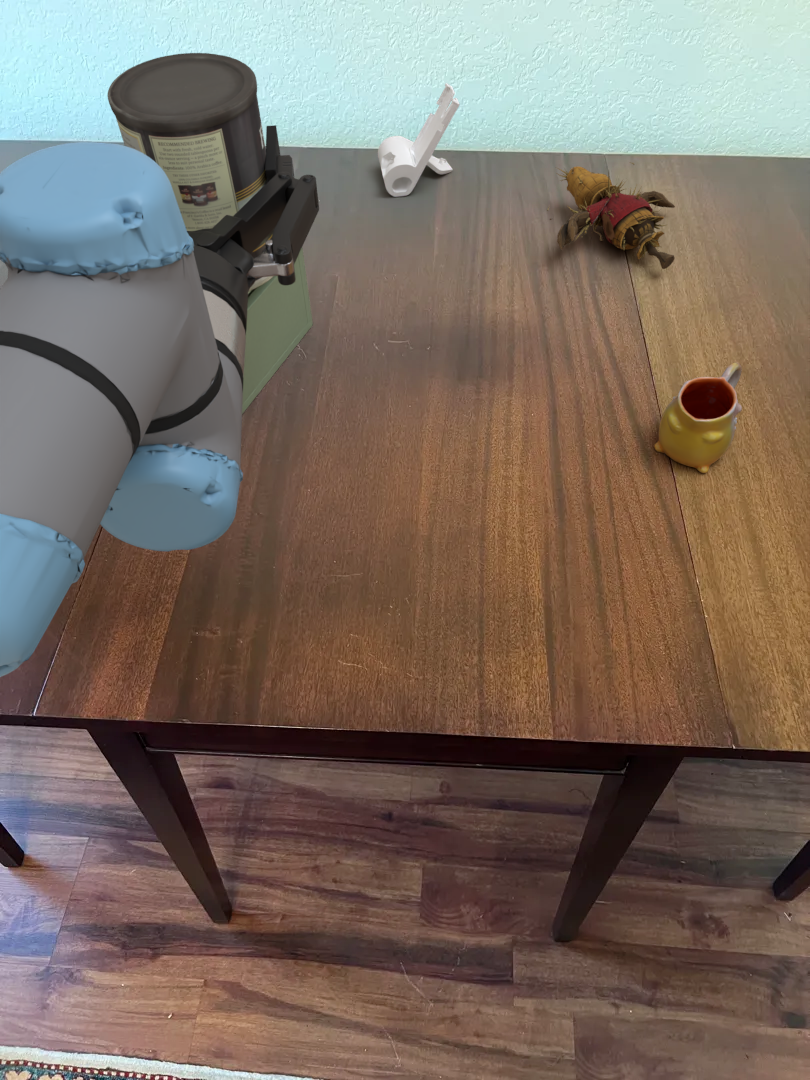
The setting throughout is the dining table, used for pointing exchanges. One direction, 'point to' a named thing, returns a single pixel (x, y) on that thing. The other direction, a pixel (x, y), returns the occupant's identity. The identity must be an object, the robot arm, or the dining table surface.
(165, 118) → the coffee can
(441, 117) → the plastic part
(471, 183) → the dining table surface
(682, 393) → the mug
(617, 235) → the scarecrow
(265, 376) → the chest
